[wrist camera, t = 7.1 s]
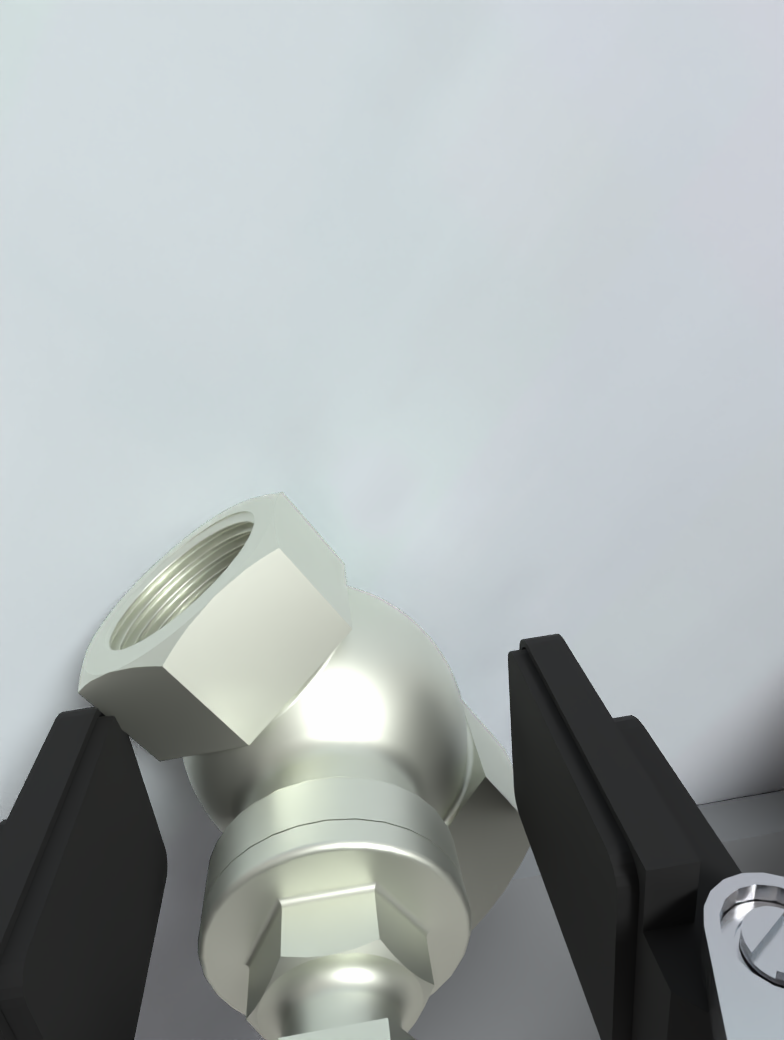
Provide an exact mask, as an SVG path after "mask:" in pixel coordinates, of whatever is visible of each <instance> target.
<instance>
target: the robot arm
mask: <svg viewBox="0 0 784 1040" xmlns="http://www.w3.org/2000/svg"><path fill="white" fill-rule="evenodd" d="M508 670H509V692H510V714H511V737H512V759H513V781H514V794H515V800H516V805H517V809H518V813H519V816H520V819H521V822H522V824H523V827H524V830H525V833H526V835H527V838H528V841H529V844H530V846H531V849H532V852H533V855H534V857H535V860H536V863H537V866H538V868H539V871H540V874H541V877H542V879H543V882H544V885H545V888H546V890H547V893H548V896H549V899H550V901H551V904H552V907H553V909H554V912H555V915H556V918H557V920H558V923H559V926H560V929H561V931H562V934H563V937H564V940H565V942H566V945H567V948H568V951H569V953H570V956H571V959H572V962H573V964H574V967H575V970H576V973H577V975H578V978H579V981H580V984H581V986H582V989H583V992H584V995H585V997H586V1000H587V1003H588V1006H589V1008H590V1011H591V1014H592V1017H593V1019H594V1022H595V1025H596V1028H597V1030H598V1033H599V1036H600V1039H601V1040H784V877H783V876H778V875H773V874H768V873H764V872H761V873H742V872H741V871H740V869H739V868H738V866H737V865H736V863H735V862H734V860H733V859H732V857H731V856H730V854H729V853H728V851H727V850H726V848H725V847H724V845H723V844H722V842H721V841H720V839H719V838H718V836H717V835H716V833H715V832H714V830H713V829H712V827H711V826H710V824H709V823H708V821H707V820H706V818H705V817H704V815H703V814H702V812H701V811H700V809H699V808H698V806H697V805H696V803H695V802H694V800H693V799H692V797H691V796H690V794H689V793H688V791H687V790H686V788H685V787H684V785H683V784H682V783H681V781H680V780H679V778H678V777H677V775H676V774H675V772H674V771H673V769H672V768H671V766H670V765H669V763H668V762H667V760H666V759H665V757H664V756H663V754H662V753H661V751H660V750H659V748H658V747H657V745H656V744H655V742H654V741H653V739H652V738H651V736H650V735H649V733H648V732H647V730H646V729H645V727H644V726H643V725H642V723H641V722H640V721H639V720H638V719H637V718H636V717H634V716H632V715H630V716H624V717H618V718H612V717H611V715H610V713H609V712H608V710H607V709H606V707H605V705H604V704H603V702H602V701H601V699H600V697H599V696H598V694H597V692H596V691H595V689H594V688H593V686H592V684H591V683H590V681H589V680H588V678H587V676H586V675H585V673H584V671H583V670H582V668H581V667H580V665H579V663H578V662H577V660H576V659H575V657H574V655H573V654H572V652H571V650H570V649H569V647H568V646H567V644H566V642H565V641H564V639H563V638H562V637H561V635H559V634H553V635H547V636H541V637H534V638H528V639H522V640H521V641H520V650H516V651H510V652H509V654H508ZM166 877H167V855H166V850H165V846H164V843H163V840H162V837H161V834H160V831H159V828H158V825H157V822H156V819H155V815H154V812H153V809H152V806H151V803H150V800H149V797H148V794H147V791H146V788H145V785H144V782H143V779H142V775H141V772H140V769H139V766H138V763H137V760H136V757H135V754H134V751H133V748H132V745H131V742H130V738H129V735H128V734H127V733H125V732H124V731H123V730H122V729H121V727H120V725H119V723H118V722H117V720H116V718H115V716H105V715H104V714H103V713H102V712H100V711H99V709H98V708H96V707H91V708H85V709H79V710H72V711H66V712H62V713H60V714H59V715H58V716H57V718H56V719H55V721H54V723H53V726H52V728H51V730H50V732H49V734H48V736H47V738H46V740H45V742H44V744H43V746H42V748H41V750H40V752H39V755H38V757H37V759H36V761H35V763H34V765H33V767H32V769H31V771H30V773H29V775H28V777H27V779H26V781H25V783H24V786H23V788H22V790H21V792H20V794H19V796H18V798H17V800H16V802H15V804H14V806H13V808H12V810H11V812H10V815H9V817H8V819H7V820H3V821H2V822H1V823H0V1040H134V1037H135V1032H136V1027H137V1022H138V1017H139V1012H140V1007H141V1002H142V997H143V992H144V987H145V982H146V977H147V972H148V967H149V962H150V957H151V952H152V947H153V942H154V937H155V932H156V927H157V922H158V917H159V912H160V908H161V903H162V898H163V893H164V888H165V883H166Z"/></svg>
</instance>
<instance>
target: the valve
mask: <svg viewBox="0 0 784 1040" xmlns="http://www.w3.org/2000/svg"><path fill="white" fill-rule="evenodd" d="M78 693H79V694H80V695H81V696H82V697H84V698H85V699H86V700H87V701H88V702H90V703H91V704H92V705H93V706H94V707H96V708H98V709H99V711H100V712H102V713H103V714H104V715H105V716H115V718H116V720H117V722H118V723H119V725H120V727H121V729H122V730H123V731H124V732H125V733H127V734H128V735H129V736H130V737H131V738H133V739H134V740H135V741H136V742H137V743H138V744H140V745H141V746H142V747H143V748H144V749H146V750H147V751H148V752H149V753H150V754H152V755H153V756H154V757H155V758H156V759H158V760H159V761H165V760H170V759H176V758H182V757H183V761H184V765H185V768H186V772H187V775H188V778H189V780H190V783H191V785H192V788H193V790H194V792H195V794H196V796H197V798H198V799H199V801H200V803H201V805H202V806H203V808H204V810H205V812H206V813H207V814H208V816H209V817H210V819H211V820H212V821H213V823H214V824H215V825H216V826H217V827H218V828H219V830H220V831H221V832H222V833H223V834H222V835H221V837H220V838H219V840H218V841H217V843H216V845H215V847H214V850H213V852H212V855H211V858H210V862H209V867H208V873H207V880H206V887H205V894H204V901H203V908H202V915H201V924H200V931H199V937H198V955H199V960H200V963H201V966H202V970H203V973H204V976H205V978H206V979H207V981H208V982H209V984H210V985H211V987H212V988H213V990H214V991H215V993H216V994H217V995H218V996H219V997H220V998H221V999H223V1000H224V1001H225V1002H226V1003H227V1004H228V1005H229V1006H231V1007H232V1008H233V1009H234V1010H236V1011H238V1012H240V1013H242V1014H244V1015H245V1016H246V1020H247V1021H248V1022H249V1023H250V1025H251V1026H252V1027H253V1028H254V1029H255V1030H256V1031H257V1032H258V1033H259V1034H260V1035H261V1036H262V1037H263V1038H264V1039H265V1040H416V1039H415V1038H413V1037H412V1036H411V1035H410V1034H408V1031H409V1030H410V1029H411V1028H412V1026H413V1025H414V1024H415V1023H416V1021H417V1019H418V1017H419V1016H420V1014H421V1012H422V1011H423V1009H424V1007H425V1005H426V1003H427V1001H428V998H429V996H431V995H432V994H433V993H435V992H436V991H437V990H438V989H439V988H440V987H441V986H442V985H443V984H444V983H445V982H446V981H447V980H448V979H449V978H450V977H451V975H452V974H453V972H454V971H455V969H456V968H457V966H458V964H459V963H460V961H461V960H462V958H463V956H464V955H465V951H466V948H467V945H468V941H469V938H470V934H471V931H472V930H473V929H474V928H475V926H476V925H477V924H478V923H479V922H480V921H481V920H482V919H483V918H484V916H485V915H486V914H487V913H488V911H489V910H490V909H491V908H492V906H493V905H494V904H495V902H496V901H497V900H498V898H499V897H500V896H501V894H502V893H503V892H504V891H505V889H506V887H507V886H508V884H509V883H510V881H511V879H512V878H513V876H514V874H515V873H516V871H517V869H518V868H519V866H520V864H521V863H522V861H523V859H524V857H525V855H526V853H527V851H528V849H529V847H530V844H529V841H528V838H527V835H526V833H525V830H524V827H523V824H522V822H521V819H520V816H519V813H518V809H517V805H516V800H515V794H514V781H513V766H512V764H511V762H510V760H509V758H508V755H507V753H506V751H505V749H504V748H503V746H502V745H501V744H500V743H499V742H498V741H497V740H496V738H495V737H494V736H493V735H492V734H491V733H490V731H489V730H488V729H487V728H486V727H485V726H484V724H483V723H482V722H481V721H480V720H479V719H478V718H477V716H476V715H475V714H474V713H473V712H472V711H471V709H470V708H469V707H468V706H467V705H466V704H465V702H464V701H463V700H462V699H461V695H460V691H459V688H458V686H457V683H456V681H455V678H454V676H453V673H452V671H451V669H450V667H449V665H448V663H447V661H446V660H445V658H444V656H443V655H442V653H441V652H440V650H439V649H438V647H437V646H436V644H435V643H434V642H433V640H432V639H431V638H430V637H429V636H428V635H427V634H426V632H425V631H424V630H423V629H422V628H421V627H420V626H419V625H418V624H417V623H416V622H415V621H413V620H412V619H411V618H410V617H409V616H408V615H406V614H405V613H404V612H402V611H401V610H400V609H398V608H396V607H395V606H393V605H392V604H390V603H388V602H387V601H385V600H383V599H381V598H379V597H377V596H375V595H373V594H370V593H367V592H365V591H362V590H359V589H356V588H353V587H349V586H347V580H346V572H345V564H344V562H343V561H342V560H341V559H340V558H339V557H338V556H337V554H336V553H335V552H334V551H333V550H332V549H331V547H330V546H329V545H328V544H327V543H326V542H325V540H324V539H323V538H322V537H321V536H320V535H319V534H318V532H317V531H316V530H315V529H314V528H313V527H312V525H311V524H310V523H309V522H308V521H307V520H306V518H305V517H304V516H303V515H302V514H301V513H300V512H299V510H298V509H297V508H296V507H295V506H294V505H293V503H292V502H291V501H290V500H289V499H288V498H287V496H286V495H285V494H284V493H283V492H281V493H274V494H268V495H264V496H259V497H255V498H251V499H248V500H246V501H243V502H241V503H238V504H236V505H234V506H232V507H230V508H229V509H227V510H225V511H223V512H222V513H220V514H218V515H217V516H215V517H213V518H212V519H210V520H209V521H207V522H206V523H205V524H203V525H202V526H200V527H199V528H198V529H196V530H195V531H193V532H192V533H191V534H190V535H188V536H187V537H186V538H184V539H183V540H182V541H181V542H179V543H178V544H177V545H176V546H175V547H173V548H172V549H171V550H170V551H169V552H168V553H167V554H165V555H164V556H163V557H162V558H161V559H160V560H159V561H158V562H157V563H155V564H154V565H153V566H152V567H151V568H150V569H149V570H148V571H147V572H146V573H145V574H144V575H143V576H142V577H141V578H140V579H139V580H138V581H137V582H136V583H135V584H134V585H133V586H132V588H131V589H130V590H129V591H128V592H127V593H126V594H125V595H124V596H123V598H122V599H121V600H120V601H119V602H118V603H117V605H116V606H115V607H114V608H113V610H112V611H111V612H110V613H109V615H108V616H107V617H106V619H105V620H104V622H103V623H102V624H101V626H100V627H99V629H98V630H97V632H96V634H95V635H94V637H93V639H92V641H91V642H90V644H89V647H88V649H87V651H86V654H85V657H84V661H83V664H82V668H81V673H80V679H79V687H78Z"/></svg>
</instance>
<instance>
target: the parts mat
mask: <svg viewBox="0 0 784 1040" xmlns="http://www.w3.org/2000/svg"><path fill="white" fill-rule="evenodd" d="M697 806H698V808H699V809H700V811H701V812H702V814H703V815H704V817H705V818H706V820H707V821H708V823H709V824H710V826H711V827H712V829H713V830H714V832H715V833H716V835H717V836H718V838H719V839H720V841H721V842H722V844H723V845H724V847H725V848H726V850H727V851H728V853H729V854H730V856H731V857H732V859H733V860H734V862H735V863H736V865H737V866H738V868H739V869H740V871H741V872H742V873H761V872H764V873H768V874H773V875H778V876H783V877H784V790H783V791H777V792H771V793H766V794H760V795H754V796H749V797H743V798H737V799H732V800H726V801H720V802H714V803H709V804H703V805H697ZM408 1034H410V1035H411V1036H412V1037H413V1038H415V1039H416V1040H601V1039H600V1036H599V1033H598V1030H597V1028H596V1025H595V1022H594V1019H593V1017H592V1014H591V1011H590V1008H589V1006H588V1003H587V1000H586V997H585V995H584V992H583V989H582V986H581V984H580V981H579V978H578V975H577V973H576V970H575V967H574V964H573V962H572V959H571V956H570V953H569V951H568V948H567V945H566V942H565V940H564V937H563V934H562V931H561V929H560V926H559V923H558V920H557V918H556V915H555V912H554V909H553V907H552V904H551V901H550V899H549V896H548V893H547V890H546V888H545V885H544V882H543V879H542V877H541V874H540V871H539V868H538V866H537V863H536V860H535V857H534V855H533V852H532V849H531V846H530V847H529V849H528V851H527V853H526V855H525V857H524V859H523V861H522V863H521V864H520V866H519V868H518V869H517V871H516V873H515V874H514V876H513V878H512V879H511V881H510V883H509V884H508V886H507V887H506V889H505V891H504V892H503V893H502V894H501V896H500V897H499V898H498V900H497V901H496V902H495V904H494V905H493V906H492V908H491V909H490V910H489V911H488V913H487V914H486V915H485V916H484V918H483V919H482V920H481V921H480V922H479V923H478V924H477V925H476V926H475V928H474V929H473V930H472V931H471V934H470V938H469V941H468V945H467V948H466V951H465V955H464V956H463V958H462V960H461V961H460V963H459V964H458V966H457V968H456V969H455V971H454V972H453V974H452V975H451V977H450V978H449V979H448V980H447V981H446V982H445V983H444V984H443V985H442V986H441V987H440V988H439V989H438V990H437V991H436V992H435V993H433V994H432V995H431V996H429V998H428V1001H427V1003H426V1005H425V1007H424V1009H423V1011H422V1012H421V1014H420V1016H419V1017H418V1019H417V1021H416V1023H415V1024H414V1025H413V1026H412V1028H411V1029H410V1030H409V1031H408Z"/></svg>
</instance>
